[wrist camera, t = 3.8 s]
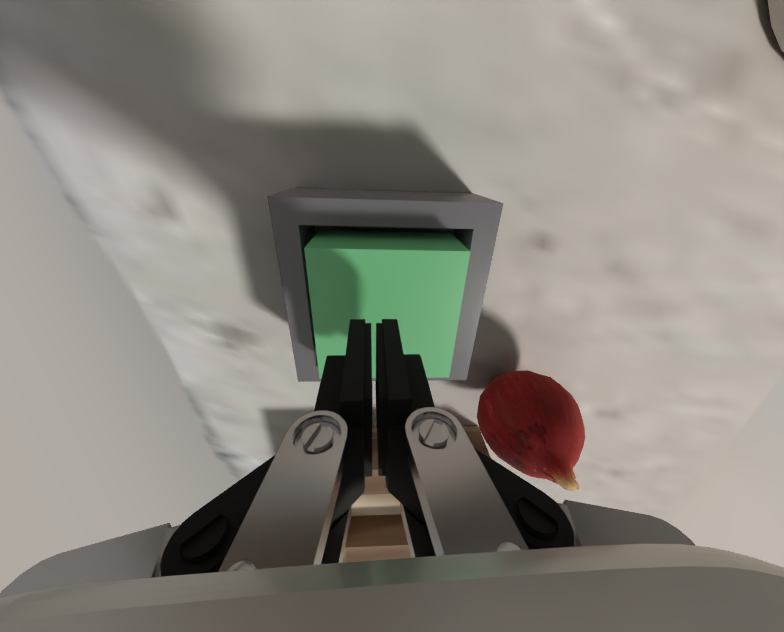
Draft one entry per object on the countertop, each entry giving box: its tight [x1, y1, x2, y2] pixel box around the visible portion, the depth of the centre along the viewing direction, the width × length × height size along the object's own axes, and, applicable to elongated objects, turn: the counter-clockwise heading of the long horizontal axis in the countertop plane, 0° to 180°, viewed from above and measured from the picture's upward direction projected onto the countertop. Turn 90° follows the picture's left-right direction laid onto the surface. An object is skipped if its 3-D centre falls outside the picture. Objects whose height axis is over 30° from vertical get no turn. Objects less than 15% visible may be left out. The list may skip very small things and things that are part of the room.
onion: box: [477, 371, 585, 491], centre depth 17 cm, size 6×6×8 cm
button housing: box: [268, 188, 503, 382], centre depth 15 cm, size 9×9×4 cm
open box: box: [342, 426, 490, 563], centre depth 25 cm, size 14×14×4 cm
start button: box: [304, 230, 470, 379], centre depth 13 cm, size 6×6×3 cm
